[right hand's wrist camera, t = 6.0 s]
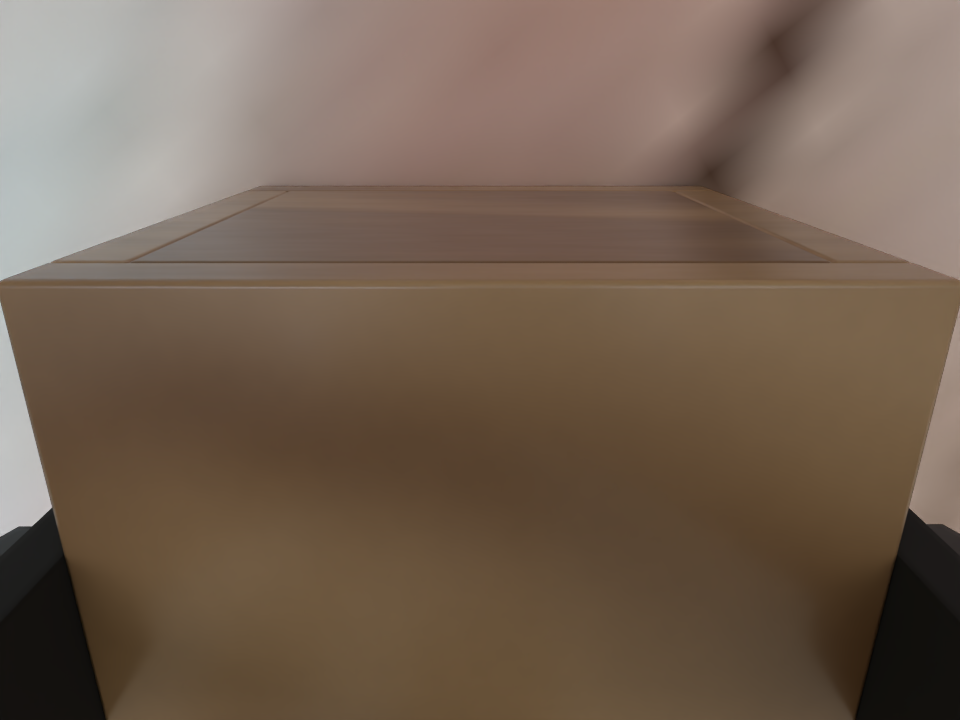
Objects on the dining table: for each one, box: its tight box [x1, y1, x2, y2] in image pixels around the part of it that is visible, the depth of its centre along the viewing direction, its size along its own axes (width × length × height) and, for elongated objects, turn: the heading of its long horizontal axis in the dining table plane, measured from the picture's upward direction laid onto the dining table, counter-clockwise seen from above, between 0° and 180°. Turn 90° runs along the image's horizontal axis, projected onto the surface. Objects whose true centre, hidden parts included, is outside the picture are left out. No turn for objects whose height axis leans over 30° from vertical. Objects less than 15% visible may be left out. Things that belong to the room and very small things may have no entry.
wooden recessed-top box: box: [0, 186, 960, 720], centre depth 15 cm, size 20×10×9 cm, turn 0°
